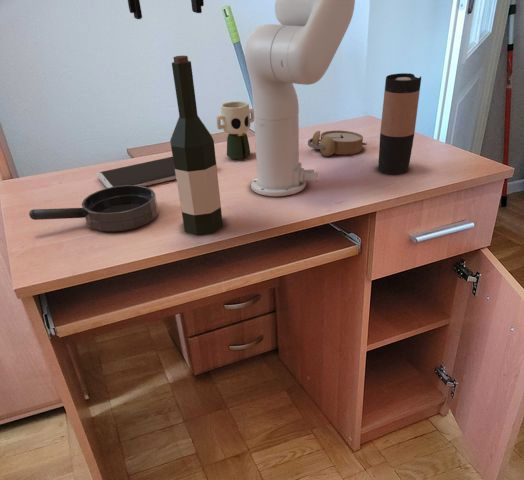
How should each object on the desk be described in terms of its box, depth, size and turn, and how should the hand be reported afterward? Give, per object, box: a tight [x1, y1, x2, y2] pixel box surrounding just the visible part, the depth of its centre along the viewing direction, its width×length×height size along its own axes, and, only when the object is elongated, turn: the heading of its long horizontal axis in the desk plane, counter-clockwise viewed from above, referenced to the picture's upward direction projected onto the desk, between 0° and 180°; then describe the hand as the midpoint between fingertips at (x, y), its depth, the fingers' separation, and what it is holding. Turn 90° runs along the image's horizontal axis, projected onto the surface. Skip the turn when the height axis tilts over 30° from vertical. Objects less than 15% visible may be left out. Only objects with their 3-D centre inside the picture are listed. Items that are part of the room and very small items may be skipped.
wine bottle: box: [170, 55, 224, 236], centre depth 92 cm, size 8×8×30 cm
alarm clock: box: [307, 130, 368, 157], centre depth 132 cm, size 11×5×15 cm
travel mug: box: [377, 72, 422, 176], centre depth 114 cm, size 8×8×20 cm
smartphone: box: [97, 156, 176, 189], centre depth 125 cm, size 13×27×2 cm, turn 118°
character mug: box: [216, 100, 254, 160], centre depth 129 cm, size 11×7×13 cm, turn 122°
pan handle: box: [28, 207, 85, 221], centre depth 101 cm, size 11×2×4 cm, turn 113°
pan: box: [81, 185, 159, 233], centre depth 105 cm, size 15×15×4 cm
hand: (168, 15), depth 80 cm, fingers open, 9 cm apart
